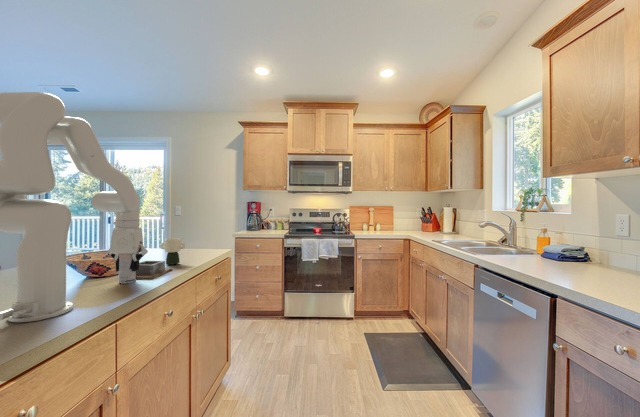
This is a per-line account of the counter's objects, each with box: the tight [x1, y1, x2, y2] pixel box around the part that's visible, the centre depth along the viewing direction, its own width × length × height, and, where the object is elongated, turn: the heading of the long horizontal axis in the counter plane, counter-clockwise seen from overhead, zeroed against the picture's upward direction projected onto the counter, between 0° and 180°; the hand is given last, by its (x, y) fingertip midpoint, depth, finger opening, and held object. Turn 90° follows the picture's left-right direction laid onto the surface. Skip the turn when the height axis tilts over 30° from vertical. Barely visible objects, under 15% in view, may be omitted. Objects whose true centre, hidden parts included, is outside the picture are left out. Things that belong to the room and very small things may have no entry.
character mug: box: [160, 237, 186, 265], centre depth 138 cm, size 11×7×13 cm, turn 104°
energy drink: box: [118, 254, 137, 285], centre depth 106 cm, size 5×5×12 cm
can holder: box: [136, 260, 173, 280], centre depth 118 cm, size 16×12×5 cm
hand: (127, 270), depth 106 cm, fingers closed on energy drink, 5 cm apart
